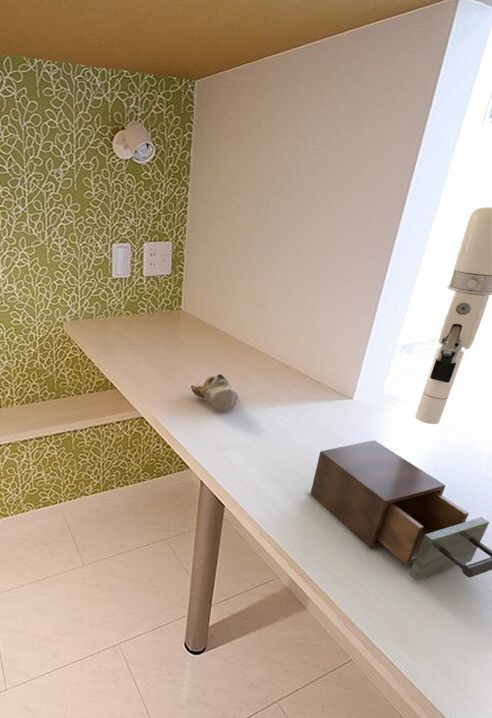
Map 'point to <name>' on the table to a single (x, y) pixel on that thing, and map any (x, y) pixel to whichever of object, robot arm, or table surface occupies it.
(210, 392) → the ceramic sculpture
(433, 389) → the tube
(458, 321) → the robot arm
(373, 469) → the cabinet
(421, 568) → the drawer
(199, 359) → the table surface
